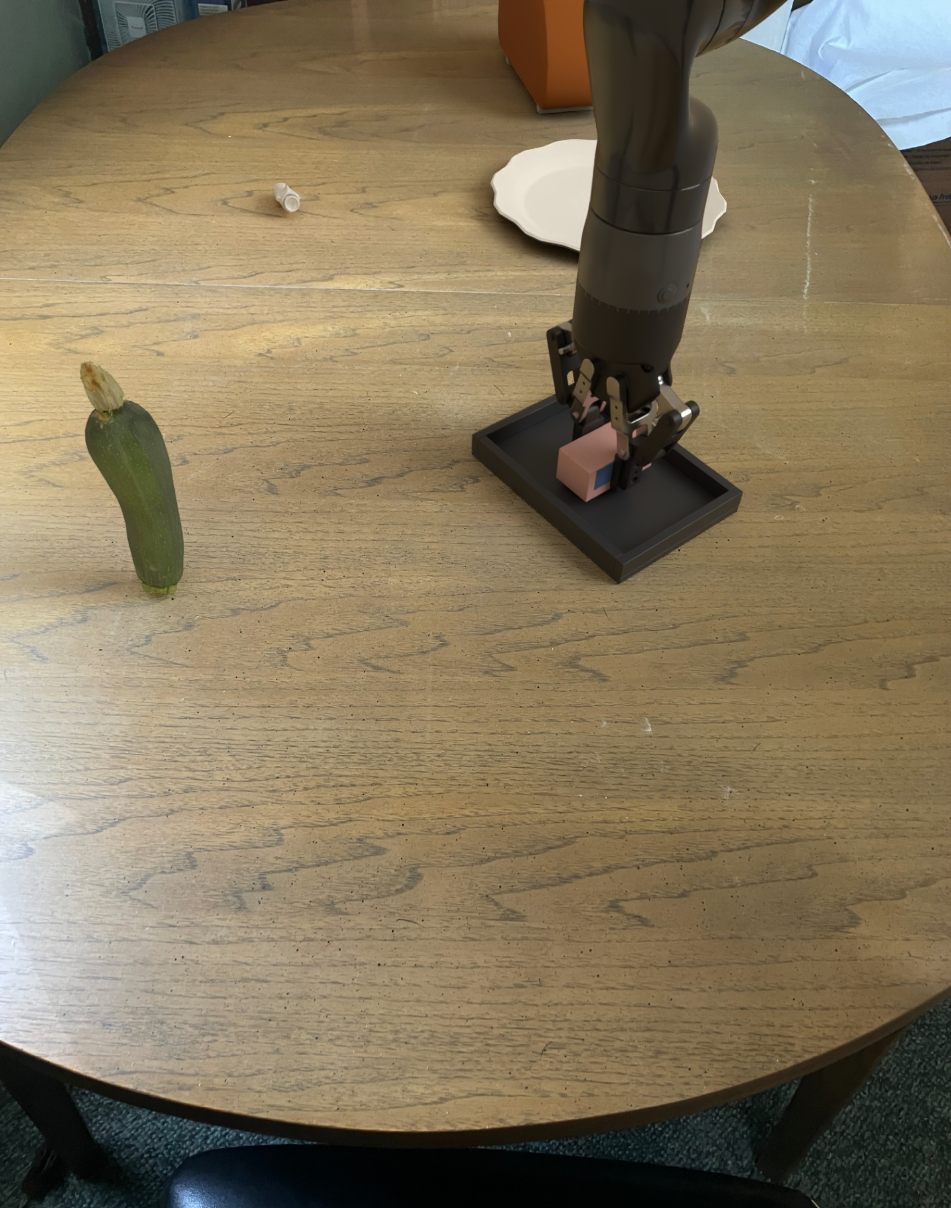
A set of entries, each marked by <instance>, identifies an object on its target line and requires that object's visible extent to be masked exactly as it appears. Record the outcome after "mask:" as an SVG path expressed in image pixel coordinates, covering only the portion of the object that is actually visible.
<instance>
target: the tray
mask: <svg viewBox="0 0 951 1208" xmlns="http://www.w3.org/2000/svg"><path fill="white" fill-rule="evenodd" d="M570 411H571V409H570V407H569V406H568V405H567V404H565V405H561V404H560V403H559V402H558V401H557V399H556V395H555V393H554V394H551V395H549V396H548V397H545V398H543V399H541V400H539V401H538V402H535V403H533V404H531V405H529V406H527V407H525V408H523V409H521V410H519V411H517V412H515V413H512V414H511V415H509V416H506V417H504V418H502V419H501V420H498V421H496V422H494V423H492V424H489V425H488V426H486V427H484V428H482V429H480V430H478V431H475V432H473V433H472V434H471V455H472V456H473V457H475V458H476V459H477V460H478V461H479V462H480V463H481V464H482V465H483V466H485V468H487V469H488V470H489V471H490V472H491V473H493V474H494V475H495V476H496V477H497V478H498V479H500V480H501V481H502V483H504V484H505V485H506V486H507V487H508V488H510V489H511V490H512V491H513V492H514V493H515V494H516V495H518V496H519V497H520V498H521V499H522V500H523V501H524V502H525V503H527V504H528V505H529V506H530V507H531V508H532V509H534V510H535V511H536V512H537V513H538V514H539V515H540V516H541V517H542V518H543V519H545V520H546V521H547V522H548V523H549V524H550V525H552V526H553V527H554V528H555V529H556V530H557V531H558V532H560V533H561V535H563V536H564V537H565V538H566V539H567V540H568V541H570V542H571V543H572V544H573V545H574V546H575V547H576V548H577V549H579V550H580V551H581V552H582V553H583V554H584V555H585V556H586V557H588V558H589V559H590V560H591V561H592V562H593V563H595V564H596V565H597V566H598V567H599V568H600V569H601V570H602V571H604V572H605V573H606V574H607V575H608V576H609V577H610V578H611V579H613V580H614V581H615V582H616V583H617V584H618V585H621V584H622V583H623V582H625V581H627V580H628V579H630V578H632V577H633V576H635V575H636V574H638V573H640V572H641V571H643V570H645V569H646V568H648V567H649V566H651V565H653V564H654V563H656V562H657V561H660V560H661V559H662V558H664V557H665V556H667V555H669V554H670V553H672V552H674V551H675V550H677V549H678V548H680V547H682V546H684V545H685V544H687V543H688V542H690V541H691V540H694V539H695V538H696V537H697V536H699V535H700V536H701V534H703V533H705V532H706V531H708V530H710V529H712V528H713V527H714V526H716V525H718V524H719V523H720V522H723V521H724V520H726V519H727V518H729V517H731V516H732V515H734V514H736V513H737V512H738V509H739V507H740V504H741V502H742V501H741V500H742V497H743V494H744V491H742V489H740V488H739V487H738V486H736V485H735V484H734V483H732V482H731V481H729V480H728V479H727V478H725V477H724V476H723V475H722V474H720V473H719V472H717V471H716V470H714V469H713V468H712V467H711V466H709V465H708V464H707V463H705V462H704V461H703V460H702V459H700V458H698V457H697V456H696V455H694V454H693V453H692V452H690V451H689V450H687V449H686V448H685V447H684V446H682V445H681V444H680V443H679V442H677V444H676V445H675V446H674V448H673V449H672V450H671V451H670V453H668V454H666V455H665V456H663V457H661V458H659V459H658V460H656V461H654V462H652V463H651V466H649V467H648V468H646V469H644V470H642V474H641V479H640V481H639V482H638V483H637V484H636V485H634V486H632V487H630V488H628V489H627V490H625V491H624V490H623V491H621V492H620V493H616V492H615V491H613V490H612V489H611V488H610V489H608V490H607V491H605V492H603V493H601V494H599V495H598V496H596V497H594V498H592V499H591V500H589V501H587V502H585V501H584V500H583V499H581V498H580V497H579V496H578V495H577V494H575V493H574V492H573V491H572V490H571V489H569V488H568V487H567V486H566V485H565V484H563V483H562V482H561V481H560V480H559V479H557V478H556V474H557V465H558V457H559V449H560V448H561V447H563V446H565V445H567V444H569V443H571V442H572V438H573V437H572V435H573V427H574V421H573V420H572V418H571V416H570ZM599 414H600V415H601V416H603V417H604V421H603V426H604V425H605V424H607V423H609V422H611V415H610V406H609V405H608V404H607V403H606V405H605V407H604V410H603V411H602V412H600V413H599ZM655 426H656V425H655V424H654V423H652V430H653V428H654V427H655Z"/></svg>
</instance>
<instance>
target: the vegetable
mask: <svg viewBox="0 0 951 1208" xmlns="http://www.w3.org/2000/svg"><path fill="white" fill-rule="evenodd" d="M79 375H80V377H79V378H80V380H81V382H82V385H83V389H84V391H85V394H86V397H87V398H88V401H89V402H90V404H91V406H92V407H93V408H94V409H93V410H92V411H91V413H90V414H89V415H88V418H87V421H86V424H85V428H84V441H85V446H86V450H87V452H88V455H89V456H90V458H91V460H92V462H93V464H94V465H95V466H96V468H97V469H98V471H99V473H100V474H101V476H102V478H103V479H104V480H105V482H106V484H107V485H108V487H109V488H110V491H111V492H112V493H113V495H114V496H115V498H116V500H117V502H118V505H119V507H120V510H121V513H122V517H123V520H124V524H125V533H126V539H127V544H128V547H129V551H130V555H131V560H132V563H133V564H132V565H133V566H134V570H135V574H136V576H137V579H138V580H139V581H141V588H142V590H143V592H145V593H151V594H155V593H156V594H161V595H166V594H168V595H175V592H176V590H177V587H178V583H179V582H180V581H181V580H182V578H183V574H184V566H185V565H184V564H185V541H184V533H183V528H182V527H183V526H182V521H181V516H180V510H179V506H178V499H177V493H176V488H175V484H174V483H175V482H174V477H173V476H174V475H173V469H172V464H171V458H170V456H169V452H168V449H167V445H166V443H165V439H164V436H163V433H162V432H161V429H160V428H159V426H158V424H157V422H156V420H155V418H154V417H153V416H152V415H151V413H149V411H148V410H146V409H145V408H144V407H143V406H141V405H140V404H139V403H137V402H135V401H132V400H130V399H124V397H125V393H124V389H122V387H121V385H120V384H119V383H118V382H117V380H116V379H115V377H114V376H113V375H112V374H110V373H109V372H108V371H107V370H105V369H103V368H102V366H101V365H100V364H97V365H96V364H94V362H93V361H92V360H88V361H84V362H82V363H81V364H80V369H79Z"/></svg>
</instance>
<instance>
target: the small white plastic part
mask: <svg viewBox="0 0 951 1208" xmlns="http://www.w3.org/2000/svg"><path fill="white" fill-rule="evenodd" d="M272 196H273V198H274V199H275V200H276V201H277V202H278V203H279V204H280V206H281V207H282V208H283V209H284V211H286V212H288V213H294V212H297V210H298V209H299V208H300V206H301V200H300V199H302V195H301V194H299V193H298V192H296V191H294V190H293V189H291V188H290V186H289V185H288V184H287V183H285V182H277V183H276V184H275V185H274V186H273V188H272Z"/></svg>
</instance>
